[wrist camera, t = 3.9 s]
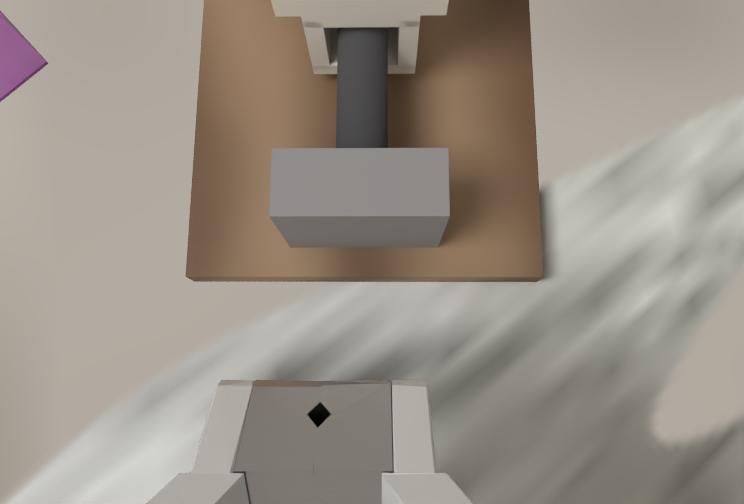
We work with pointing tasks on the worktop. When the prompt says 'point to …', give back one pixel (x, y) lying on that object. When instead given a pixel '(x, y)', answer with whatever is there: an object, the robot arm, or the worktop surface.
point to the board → (405, 130)
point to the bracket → (16, 58)
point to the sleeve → (361, 9)
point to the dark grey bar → (360, 168)
